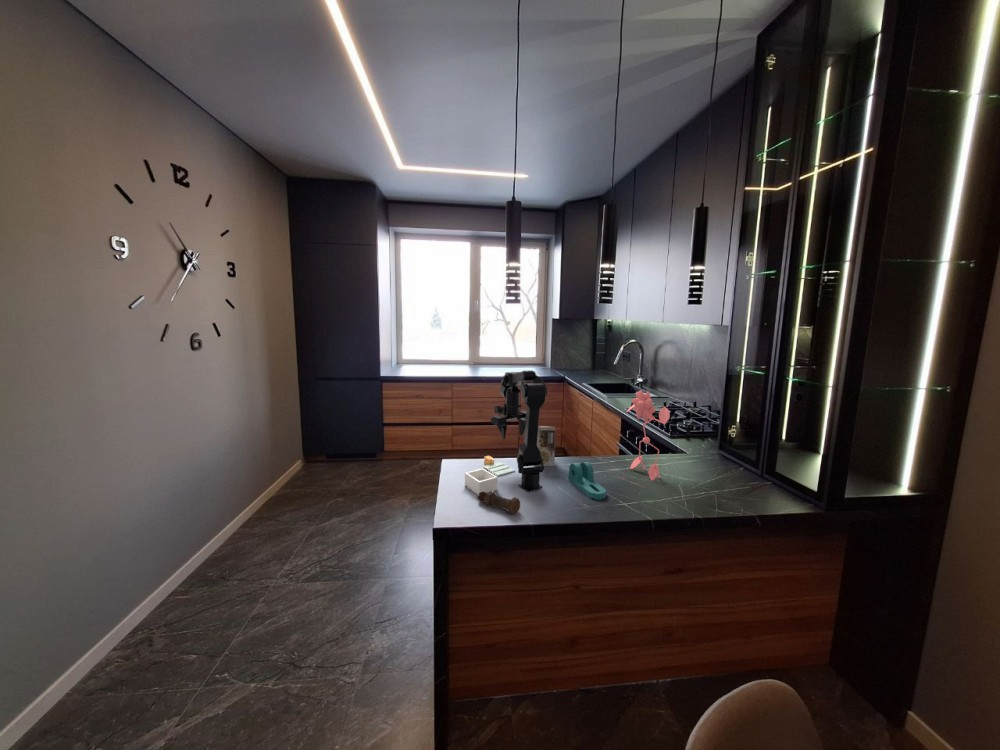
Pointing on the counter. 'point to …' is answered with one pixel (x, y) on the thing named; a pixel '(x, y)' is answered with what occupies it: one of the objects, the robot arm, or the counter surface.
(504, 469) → the lid
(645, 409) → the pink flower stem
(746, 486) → the counter surface
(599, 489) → the bracket
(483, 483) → the parts tub
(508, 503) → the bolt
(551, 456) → the coffee box
